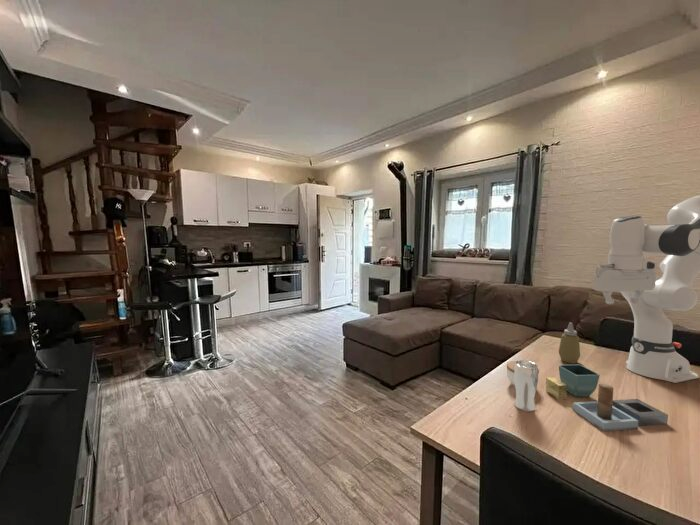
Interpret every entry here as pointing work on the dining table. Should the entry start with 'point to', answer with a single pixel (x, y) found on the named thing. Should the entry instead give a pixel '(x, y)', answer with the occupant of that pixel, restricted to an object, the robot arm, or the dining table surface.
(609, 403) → the dowel
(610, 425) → the tray
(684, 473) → the dining table surface
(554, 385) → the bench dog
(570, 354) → the squeeze bottle
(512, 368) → the lidded jar
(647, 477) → the dining table surface
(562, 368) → the flower pot
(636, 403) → the socket block
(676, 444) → the dining table surface
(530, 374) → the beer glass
